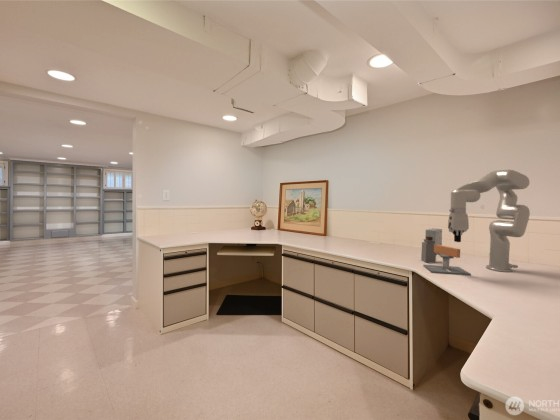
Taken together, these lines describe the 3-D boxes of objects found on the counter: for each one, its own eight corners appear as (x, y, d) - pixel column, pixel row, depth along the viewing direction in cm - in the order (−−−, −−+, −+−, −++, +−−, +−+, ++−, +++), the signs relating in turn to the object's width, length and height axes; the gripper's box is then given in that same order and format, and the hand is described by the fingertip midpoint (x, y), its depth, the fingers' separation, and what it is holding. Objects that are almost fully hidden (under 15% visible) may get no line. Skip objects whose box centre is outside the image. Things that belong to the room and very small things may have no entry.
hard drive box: (431, 251, 222) (432, 228, 221) (441, 252, 216) (442, 229, 215) (424, 253, 212) (425, 229, 211) (434, 255, 206) (435, 230, 205)
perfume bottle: (431, 260, 187) (432, 236, 186) (435, 263, 181) (436, 237, 180) (421, 260, 188) (422, 235, 187) (425, 262, 181) (426, 237, 180)
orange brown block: (431, 254, 168) (431, 244, 168) (438, 254, 170) (439, 244, 170) (454, 260, 153) (454, 249, 152) (462, 259, 155) (462, 249, 154)
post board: (458, 268, 167) (459, 256, 167) (470, 275, 152) (471, 262, 151) (423, 266, 172) (423, 254, 171) (431, 272, 156) (432, 259, 156)
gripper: (451, 211, 148) (450, 243, 149) (475, 211, 150) (474, 242, 151) (441, 211, 155) (441, 241, 156) (464, 210, 157) (463, 240, 158)
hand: (457, 241), depth 154 cm, fingers closed
